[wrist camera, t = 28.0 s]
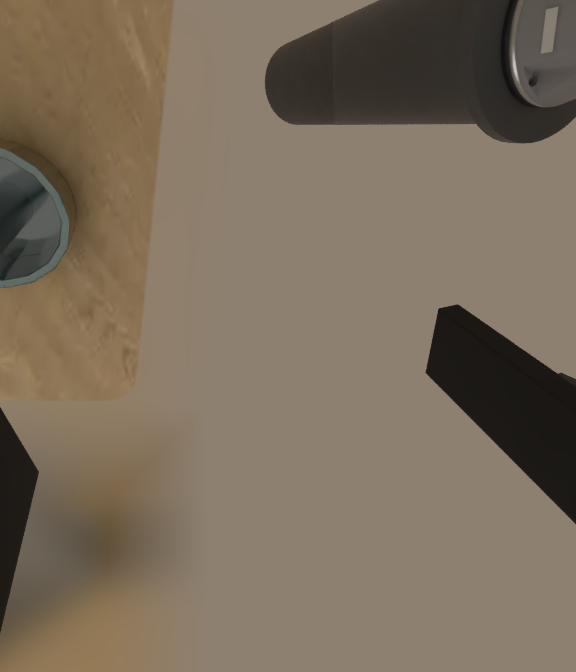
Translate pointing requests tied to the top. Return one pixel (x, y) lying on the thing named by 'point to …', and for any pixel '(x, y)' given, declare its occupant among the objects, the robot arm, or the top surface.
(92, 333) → the top surface
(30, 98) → the top surface
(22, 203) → the silver metal cylinder
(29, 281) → the utensil crock
